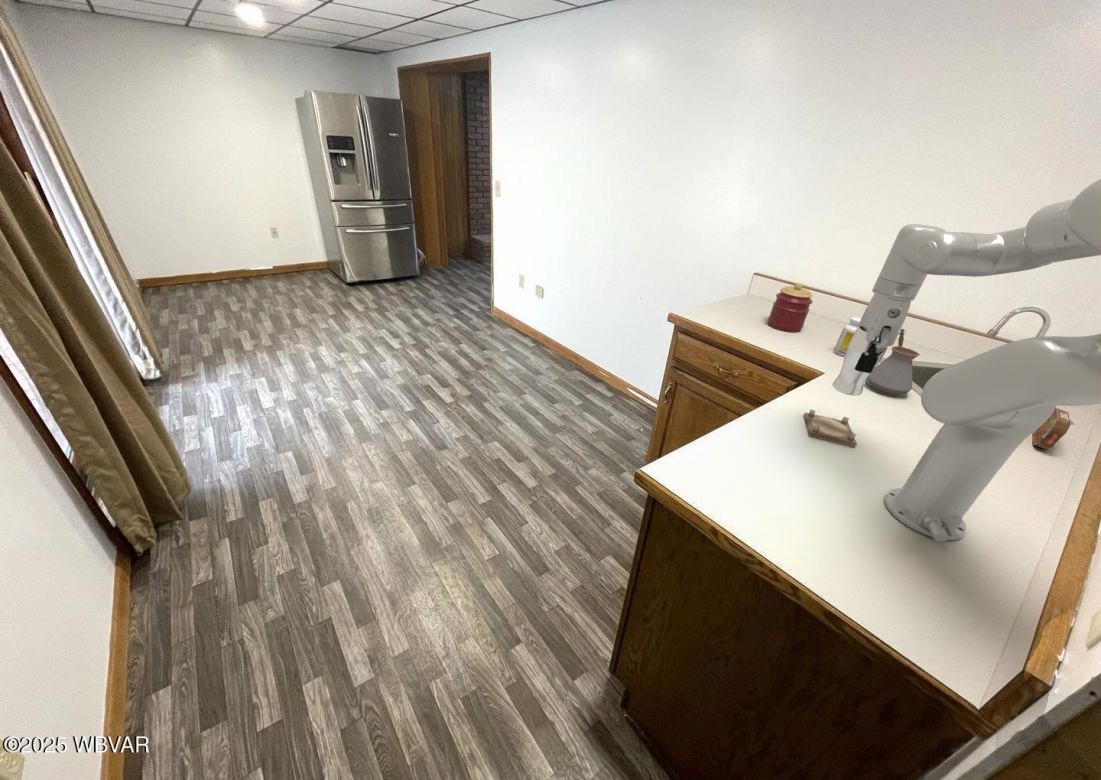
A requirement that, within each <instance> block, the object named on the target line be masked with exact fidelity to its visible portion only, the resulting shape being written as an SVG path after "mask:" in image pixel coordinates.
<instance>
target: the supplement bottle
mask: <svg viewBox="0 0 1101 780" xmlns="http://www.w3.org/2000/svg"><path fill="white" fill-rule="evenodd" d="M861 318H862V317H855V316H853V317H851V318H850V320H849V324H845V325H844V326H843V329H842V330H841V332H840V335H839V337H838V339H837V341H836V344H835V346H834V349H833V352H834V353H835V354H837V355H838V356H841V357H845V353H846V350H847V347H848V345H849V342H850V340H851V339H852V337H853V335H854V333H855V332H856V330H857V328H858V326H859V323H860V321H861Z"/></svg>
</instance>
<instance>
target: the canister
mask: <svg viewBox="0 0 1101 780" xmlns="http://www.w3.org/2000/svg"><path fill="white" fill-rule="evenodd" d="M779 291H780V292H779V293H778V292H777V293H776V294H775V296H776V299H775V300H774V301H773V303H772V304H773V305H772V307H771V311H770V314H769V315H768V319H767V325H768V326H769V327H771V328H773V329H775V330H778V331H782V332H786V333H799V332H800V331H801V332H802V329H803V328H804V323H805V321H806V319H807V317H808V313H809V312H810V306H811V305H812V304H813V299H811V298H812V297H813V294H812V293H811V292H810V290H808V289H807V288H805V287H804V288H803V284H802V283H795V285H794V286H793V285H788V286H785V287H782V288H780V290H779Z"/></svg>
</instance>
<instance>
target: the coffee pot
mask: <svg viewBox="0 0 1101 780" xmlns="http://www.w3.org/2000/svg"><path fill="white" fill-rule="evenodd" d="M906 333H907V331H906V330H905V329H904V328H901V330H900V332H899V334H898V336H899V337H898V342H897V343H898V344H897V345H896V346H892V347H891V354H890V355H888V356H887V357H886V358H885V359H884V360H882V361H880V362H879V363H878V365H877V366H876V367H875V368H874V370H873V371H872V372H871V373H870V375H869V376H868V378H867V379H866V381H867V382H868V383H867V384H868V385H869V386H870V388H871V389H872V390H874V391H876V392H877V393H881V394H883V395H887V396H891V397H892V396H893V397H896V396H900V395H905V394H907V393H909V392H910V391H912V390H913V360H914V359H916V358H917V357H919V356H920V355H921V354H920V353H918V352H917V351H915V350H914V349H911V348H907V347H903V344H904V340H905V337H904V335H905V334H906Z"/></svg>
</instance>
